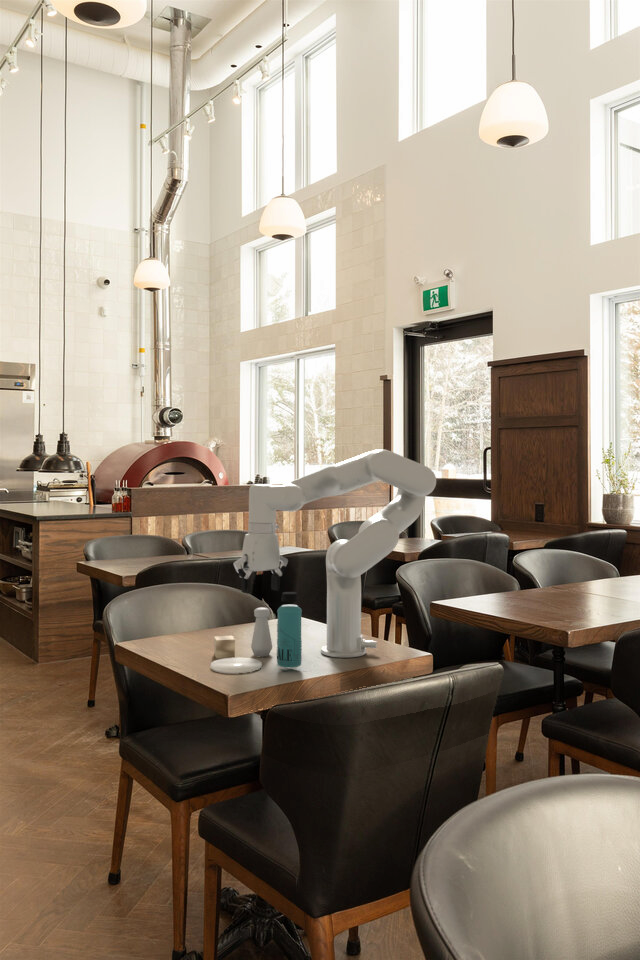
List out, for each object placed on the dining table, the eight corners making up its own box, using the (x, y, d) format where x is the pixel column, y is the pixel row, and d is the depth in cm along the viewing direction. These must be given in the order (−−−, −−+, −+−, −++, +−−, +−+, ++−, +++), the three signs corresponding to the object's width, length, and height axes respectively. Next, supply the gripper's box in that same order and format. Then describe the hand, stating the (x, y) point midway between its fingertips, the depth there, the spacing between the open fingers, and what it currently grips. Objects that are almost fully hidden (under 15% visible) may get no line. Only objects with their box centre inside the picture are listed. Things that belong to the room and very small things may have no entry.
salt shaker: (269, 658, 218) (269, 610, 218) (248, 657, 220) (248, 609, 219) (274, 653, 224) (274, 606, 224) (254, 652, 225) (254, 605, 225)
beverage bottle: (301, 667, 209) (302, 590, 209) (302, 673, 203) (302, 594, 202) (276, 667, 209) (277, 590, 209) (276, 673, 202) (276, 594, 202)
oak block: (232, 653, 224) (232, 635, 224) (234, 657, 219) (234, 639, 219) (214, 654, 223) (214, 636, 223) (216, 658, 218) (216, 640, 218)
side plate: (265, 662, 214) (265, 658, 214) (255, 674, 201) (256, 670, 201) (217, 660, 216) (217, 656, 216) (205, 672, 203) (205, 668, 203)
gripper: (279, 527, 229) (278, 587, 230) (227, 529, 219) (226, 592, 219) (295, 529, 224) (294, 590, 224) (242, 531, 213) (241, 595, 213)
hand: (260, 591), depth 221 cm, fingers open, 9 cm apart
